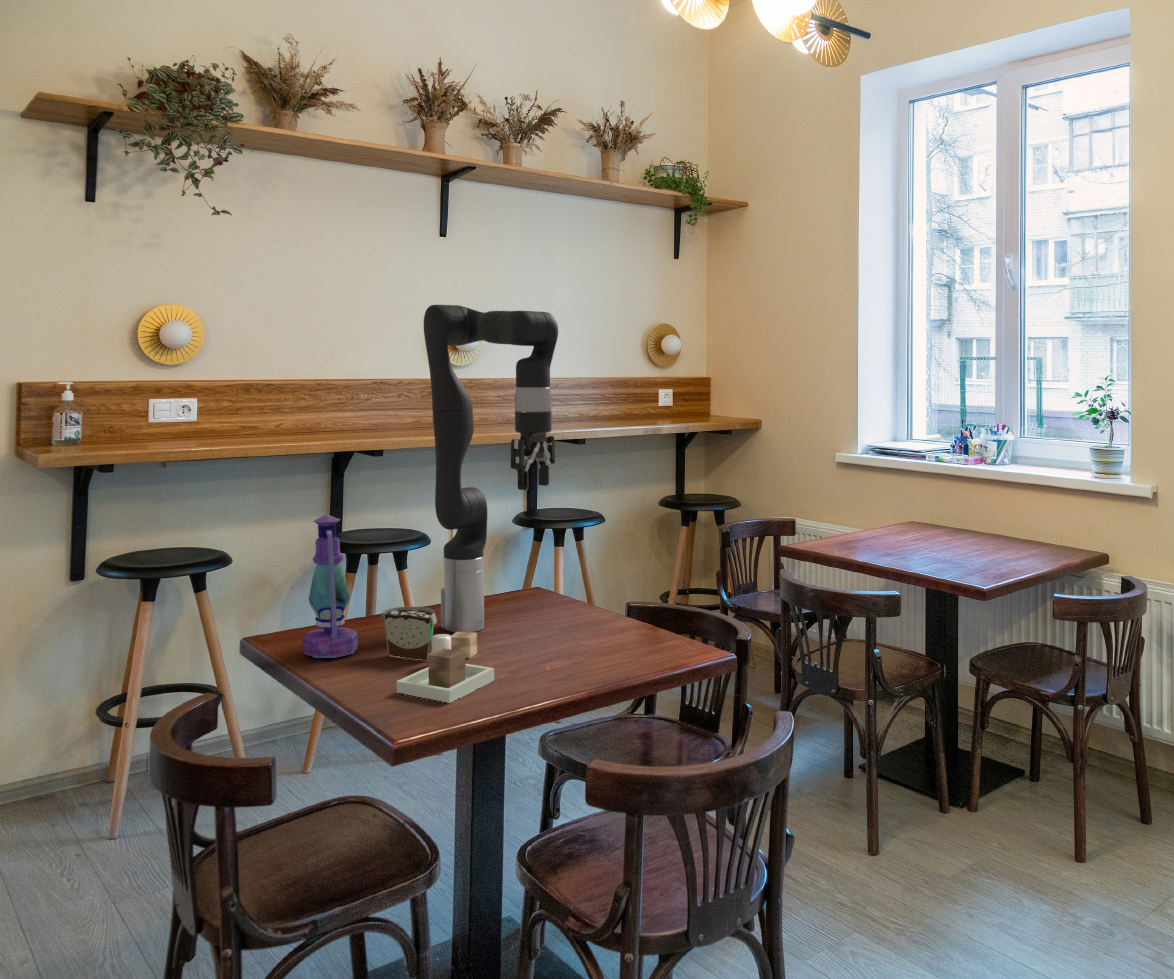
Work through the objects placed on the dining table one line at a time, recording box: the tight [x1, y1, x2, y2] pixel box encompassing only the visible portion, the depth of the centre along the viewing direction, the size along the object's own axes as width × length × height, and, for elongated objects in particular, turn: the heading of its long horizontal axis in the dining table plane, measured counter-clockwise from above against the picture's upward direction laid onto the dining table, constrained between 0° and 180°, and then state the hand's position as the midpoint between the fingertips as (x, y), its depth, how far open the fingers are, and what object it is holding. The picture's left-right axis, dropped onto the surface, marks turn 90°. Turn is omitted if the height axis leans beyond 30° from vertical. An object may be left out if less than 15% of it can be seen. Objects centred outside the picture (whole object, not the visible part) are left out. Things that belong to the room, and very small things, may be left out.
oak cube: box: [451, 632, 478, 660], centre depth 202 cm, size 4×4×4 cm
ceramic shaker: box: [431, 633, 452, 653], centre depth 194 cm, size 4×4×6 cm
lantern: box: [302, 514, 359, 659], centre depth 201 cm, size 13×12×30 cm
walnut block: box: [427, 648, 466, 688], centre depth 181 cm, size 5×5×6 cm
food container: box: [381, 606, 438, 660], centre depth 201 cm, size 12×6×10 cm, turn 71°
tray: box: [396, 663, 495, 704], centre depth 181 cm, size 12×15×2 cm
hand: (533, 487), depth 197 cm, fingers open, 8 cm apart
